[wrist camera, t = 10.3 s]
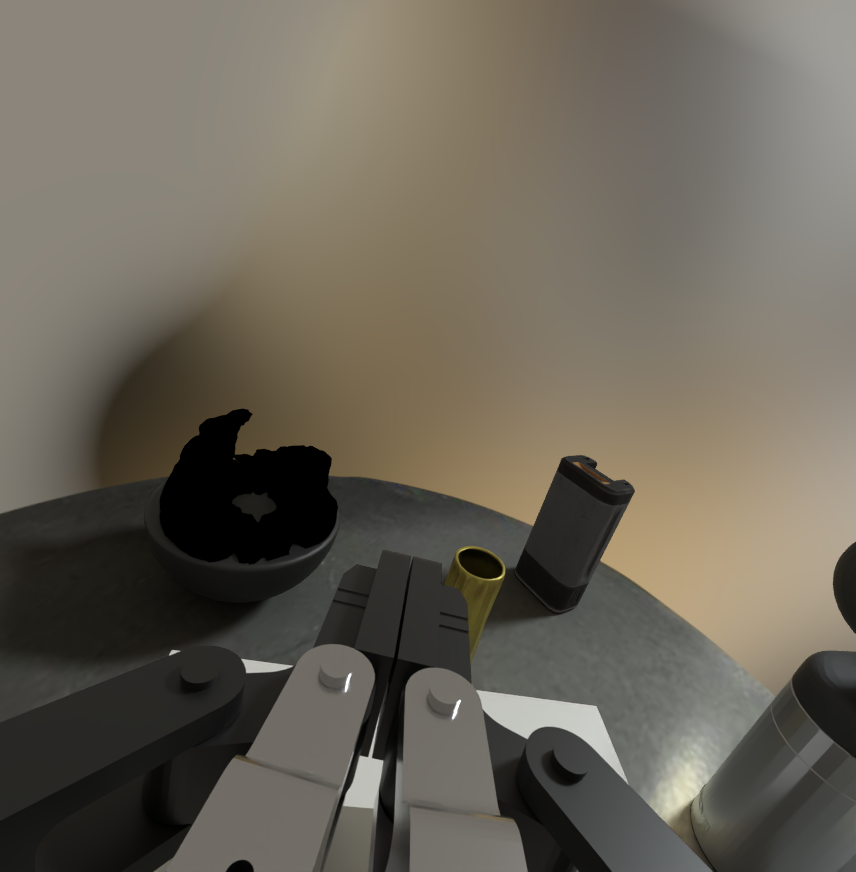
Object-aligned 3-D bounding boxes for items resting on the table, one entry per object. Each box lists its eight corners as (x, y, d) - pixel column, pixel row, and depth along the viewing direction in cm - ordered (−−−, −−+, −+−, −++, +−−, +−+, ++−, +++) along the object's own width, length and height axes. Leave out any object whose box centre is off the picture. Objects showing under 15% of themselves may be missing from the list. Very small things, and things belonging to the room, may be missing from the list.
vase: (479, 669, 53) (521, 570, 48) (444, 698, 49) (486, 593, 43) (439, 632, 56) (475, 536, 51) (404, 656, 52) (438, 553, 46)
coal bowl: (321, 652, 50) (358, 503, 42) (108, 640, 45) (107, 469, 37) (327, 534, 67) (353, 415, 60) (175, 517, 62) (183, 384, 55)
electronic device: (581, 606, 68) (641, 489, 60) (554, 617, 64) (614, 493, 57) (536, 564, 74) (585, 453, 67) (509, 571, 71) (557, 455, 63)
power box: (162, 782, 36) (171, 649, 30) (531, 815, 41) (596, 706, 35) (99, 932, 28) (97, 791, 23) (562, 951, 33) (650, 838, 28)
